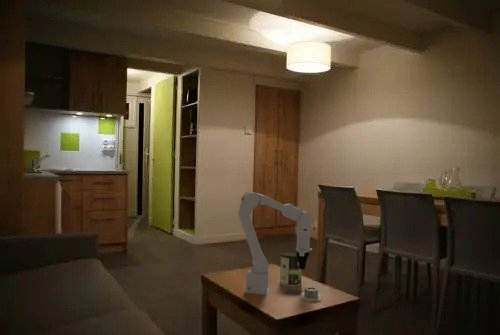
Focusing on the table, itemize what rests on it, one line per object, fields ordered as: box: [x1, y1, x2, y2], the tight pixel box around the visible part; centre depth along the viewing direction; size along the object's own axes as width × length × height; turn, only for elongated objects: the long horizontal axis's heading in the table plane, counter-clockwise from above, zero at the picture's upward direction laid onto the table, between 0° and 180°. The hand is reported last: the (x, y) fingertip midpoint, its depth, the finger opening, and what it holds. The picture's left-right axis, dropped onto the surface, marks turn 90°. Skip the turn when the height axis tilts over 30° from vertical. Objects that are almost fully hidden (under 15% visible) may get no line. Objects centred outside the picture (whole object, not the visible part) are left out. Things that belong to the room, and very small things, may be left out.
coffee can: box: [279, 251, 303, 287], centre depth 180 cm, size 10×10×14 cm
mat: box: [283, 288, 303, 296], centre depth 167 cm, size 7×7×1 cm
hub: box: [300, 289, 322, 303], centre depth 161 cm, size 8×8×4 cm
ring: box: [303, 286, 319, 298], centre depth 161 cm, size 6×6×3 cm
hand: (302, 268), depth 169 cm, fingers closed
